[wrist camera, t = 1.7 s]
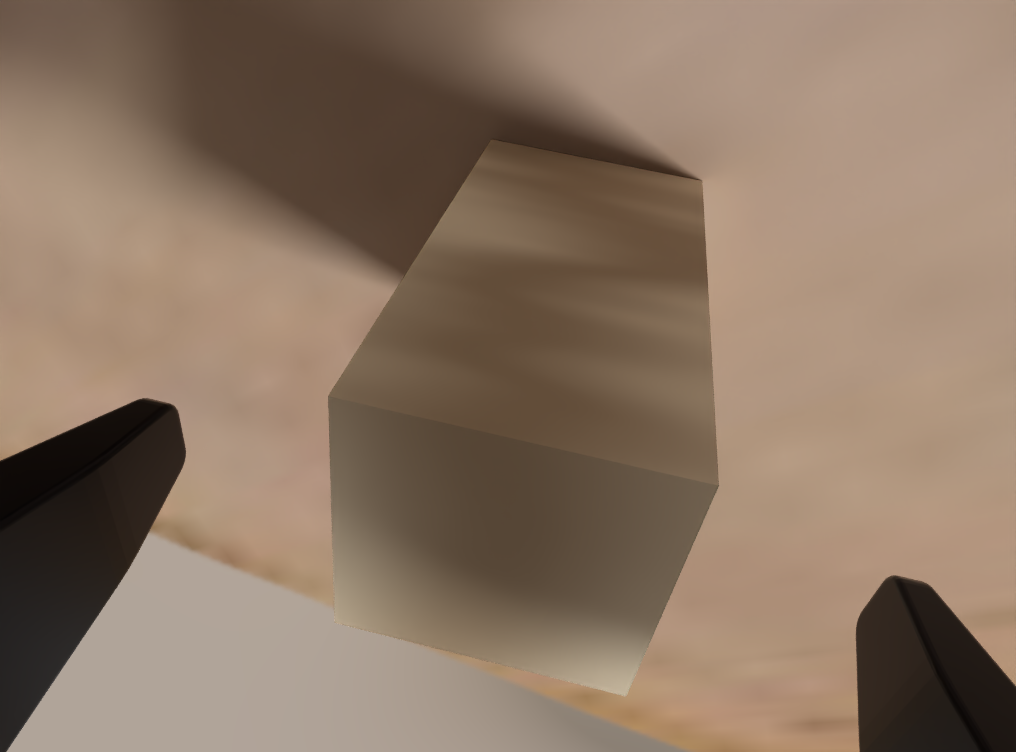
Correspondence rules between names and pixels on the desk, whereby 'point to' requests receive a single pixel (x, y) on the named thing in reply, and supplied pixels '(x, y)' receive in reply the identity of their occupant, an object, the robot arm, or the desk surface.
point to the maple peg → (532, 422)
